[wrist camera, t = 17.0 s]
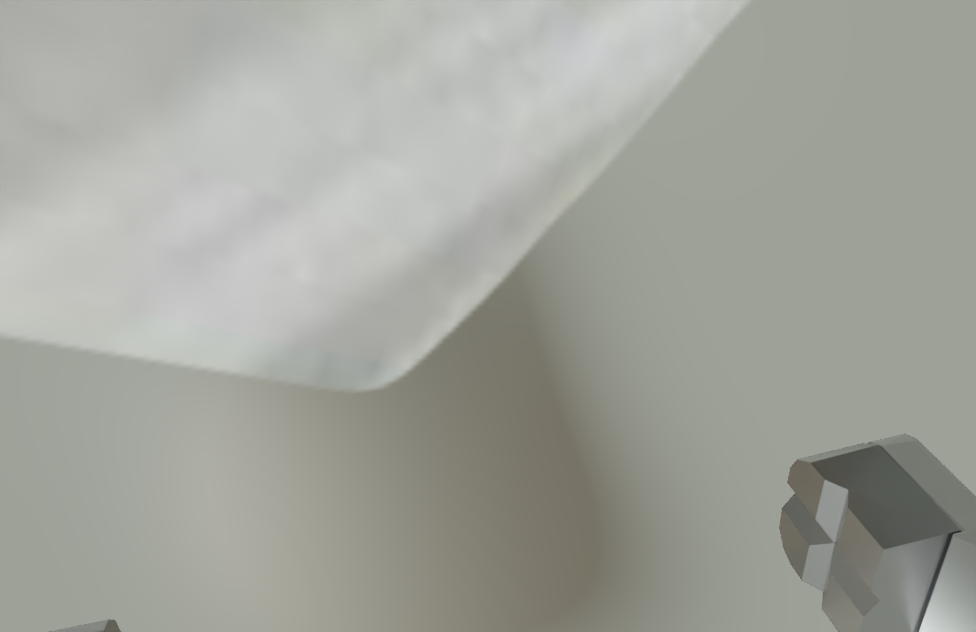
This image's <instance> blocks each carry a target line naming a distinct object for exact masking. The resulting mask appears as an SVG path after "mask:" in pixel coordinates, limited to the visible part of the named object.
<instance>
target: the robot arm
mask: <svg viewBox="0 0 976 632" xmlns="http://www.w3.org/2000/svg"><path fill="white" fill-rule="evenodd" d="M787 483H788V484H789V486H790V487H791V488H792V489H793V491H794V492H795V494H794V495H793V496H792V497H791V498H790V500H789V501H788V502H787V503H786V504H785V505H784V507H783V508H782V512H781V519H780V526H779V529H780V534H781V539H782V544H783V548H784V551H785V553H786V555H787V557H788V559H789V562H790V564H791V566H792V567H793V569H794V570H795V571H796V573H797V574H798V576H799V577H800V579H801V580H802V581H804V582H806V583H807V584H809V585H811V586H813V587H815V588H817V589H819V590H821V591H823V597H822V610H823V611H824V613H825V614H826V616H827V617H828V618H829V620H830V621H831V622H832V624H833V625H834V627H835V628H836V629H837V631H838V632H976V496H975V495H974V494H973V493H972V492H971V491H970V490H969V489H968V488H967V487H966V486H965V485H964V484H962V482H960V481H959V480H958V479H957V478H956V477H955V476H954V475H953V474H952V473H951V472H950V471H949V470H948V469H947V468H946V467H945V466H944V465H943V464H942V463H941V462H940V461H939V460H938V459H937V458H936V457H935V456H934V455H933V454H932V453H931V452H930V451H929V450H928V449H927V448H926V447H925V446H924V445H923V444H922V443H920V442H919V441H918V440H917V439H916V438H914V437H912V436H910V435H907V434H902V435H897V436H893V437H889V438H885V439H880V440H877V441H872V442H869V443H861V444H857V445H853V446H850V447H845V448H841V449H837V450H833V451H829V452H825V453H821V454H817V455H813V456H808V457H805V458H800V459H797V460H796V461H795V462H794V464H793V465H792V466H791V467H790V472H789V476H788V481H787ZM50 632H121V631H120V629H119V627H118V625H117V623H116V621H115V620H104V621H99V622H94V623H89V624H84V625H79V626H75V627H70V628H65V629H60V630H56V631H50Z"/></svg>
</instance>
